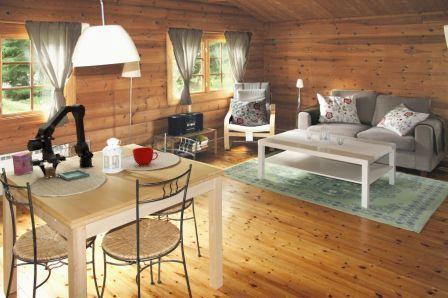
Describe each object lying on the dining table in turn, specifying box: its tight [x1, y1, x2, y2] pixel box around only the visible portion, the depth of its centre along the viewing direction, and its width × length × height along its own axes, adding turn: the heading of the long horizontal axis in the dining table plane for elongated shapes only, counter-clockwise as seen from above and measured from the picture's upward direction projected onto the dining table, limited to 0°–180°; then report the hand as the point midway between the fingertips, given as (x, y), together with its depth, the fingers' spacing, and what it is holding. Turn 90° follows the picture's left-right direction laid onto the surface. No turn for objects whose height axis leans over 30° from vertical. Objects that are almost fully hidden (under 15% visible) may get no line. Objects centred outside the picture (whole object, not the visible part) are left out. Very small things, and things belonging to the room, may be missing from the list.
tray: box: [57, 168, 90, 182], centre depth 246 cm, size 13×13×2 cm
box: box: [12, 151, 34, 176], centre depth 254 cm, size 10×6×12 cm, turn 168°
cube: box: [43, 166, 57, 178], centre depth 247 cm, size 5×5×5 cm
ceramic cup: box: [132, 146, 159, 166], centre depth 270 cm, size 13×17×10 cm
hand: (49, 174), depth 247 cm, fingers closed on cube, 5 cm apart
